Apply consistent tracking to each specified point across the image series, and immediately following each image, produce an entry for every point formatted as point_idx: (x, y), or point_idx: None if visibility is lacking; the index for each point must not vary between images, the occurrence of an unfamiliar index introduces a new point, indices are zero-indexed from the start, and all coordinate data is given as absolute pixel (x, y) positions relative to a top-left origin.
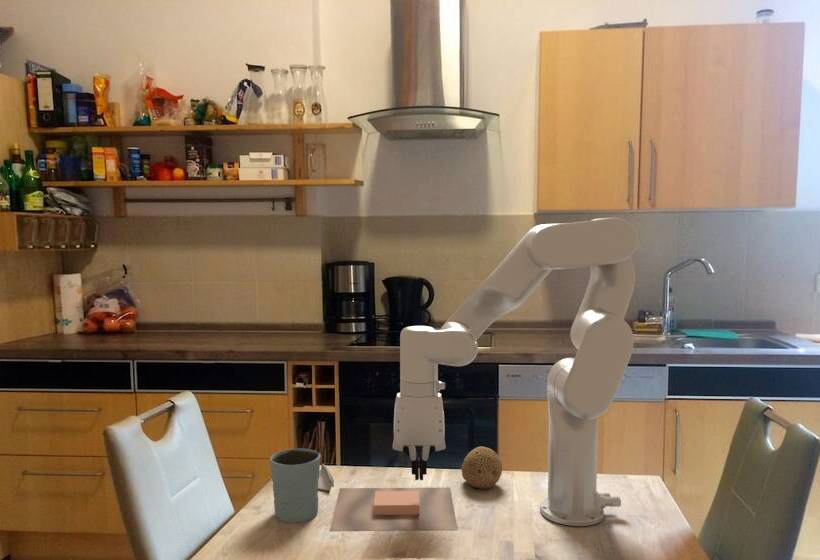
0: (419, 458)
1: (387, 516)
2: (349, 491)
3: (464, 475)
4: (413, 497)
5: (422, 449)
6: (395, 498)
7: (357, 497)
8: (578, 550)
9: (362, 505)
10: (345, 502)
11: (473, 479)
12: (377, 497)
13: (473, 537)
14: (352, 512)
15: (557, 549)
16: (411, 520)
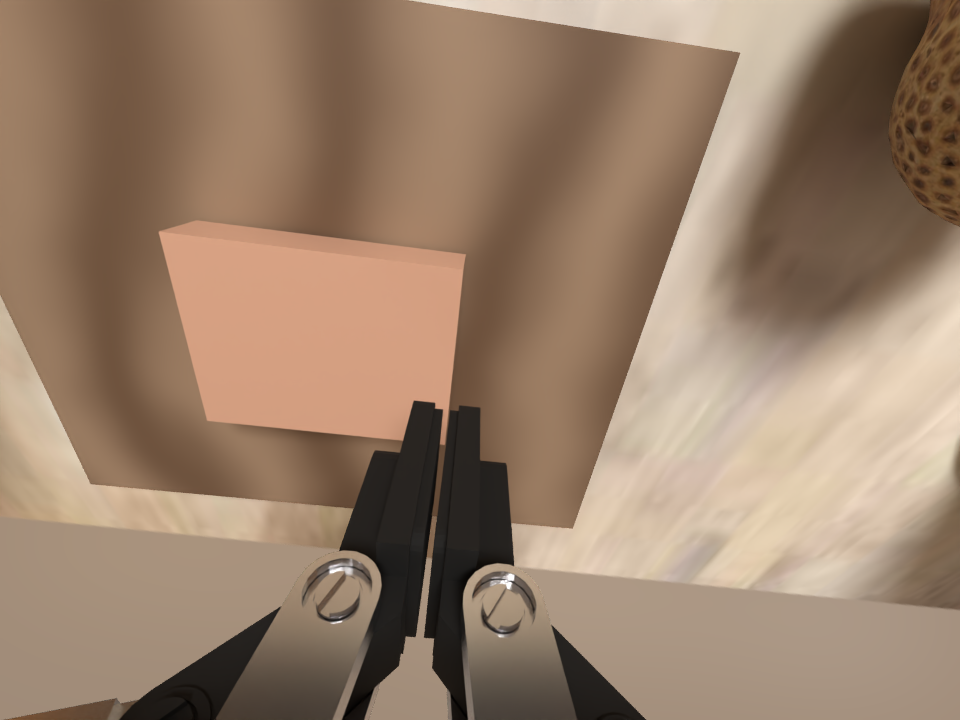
0: (429, 589)
1: None
2: None
3: (924, 96)
4: (421, 360)
5: (466, 690)
6: (314, 360)
7: (64, 152)
8: (874, 591)
9: (143, 278)
10: (21, 224)
11: (932, 199)
12: (202, 334)
13: (619, 508)
14: (119, 352)
15: (823, 582)
16: None
